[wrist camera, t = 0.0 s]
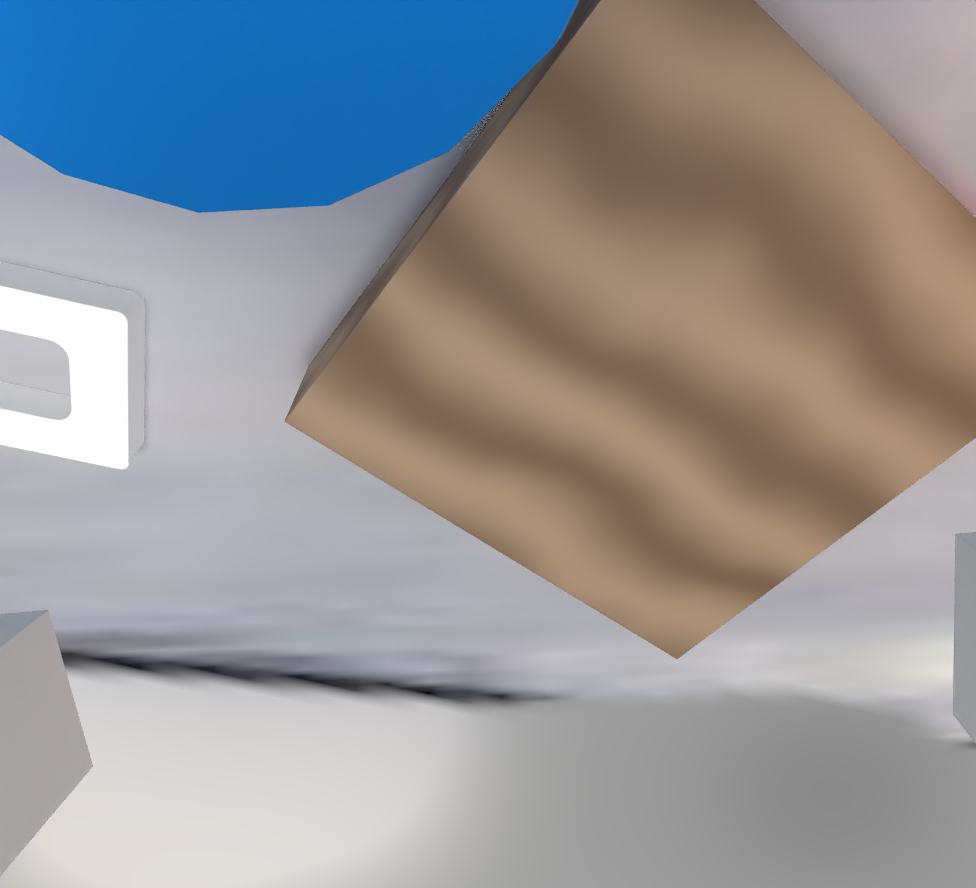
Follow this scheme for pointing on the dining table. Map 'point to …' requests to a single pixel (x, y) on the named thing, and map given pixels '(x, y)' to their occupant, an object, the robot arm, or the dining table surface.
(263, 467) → the dining table surface
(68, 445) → the holder
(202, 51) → the thermos
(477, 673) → the dining table surface
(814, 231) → the walnut riser
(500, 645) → the dining table surface
